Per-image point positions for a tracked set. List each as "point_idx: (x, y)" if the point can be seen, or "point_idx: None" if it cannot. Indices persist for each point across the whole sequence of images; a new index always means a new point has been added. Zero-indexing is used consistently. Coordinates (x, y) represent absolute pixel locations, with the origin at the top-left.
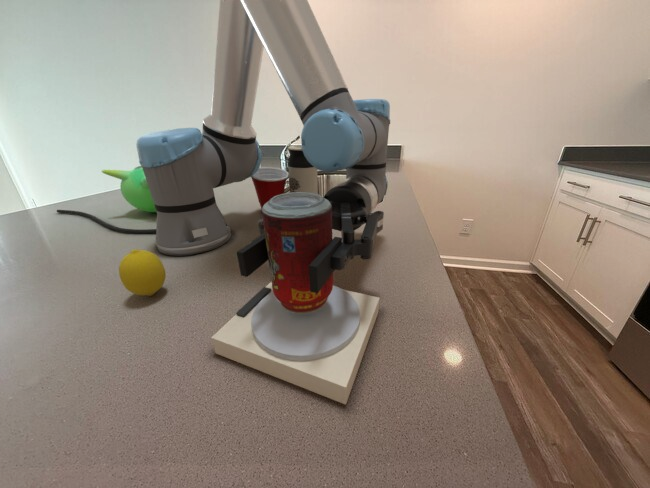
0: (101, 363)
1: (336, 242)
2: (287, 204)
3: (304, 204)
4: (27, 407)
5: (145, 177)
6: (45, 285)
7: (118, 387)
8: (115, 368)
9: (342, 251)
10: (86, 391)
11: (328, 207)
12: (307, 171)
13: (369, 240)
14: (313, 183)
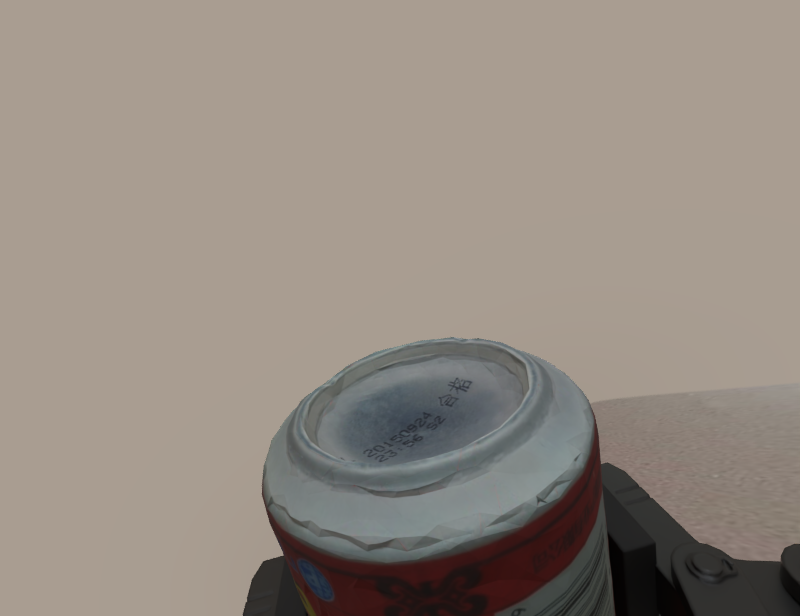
0: (708, 449)
1: (282, 593)
2: (486, 413)
3: (417, 455)
4: (659, 404)
5: None
6: None
7: (629, 458)
8: (680, 459)
9: (261, 603)
10: (648, 436)
11: (267, 456)
12: None
13: None
14: None
